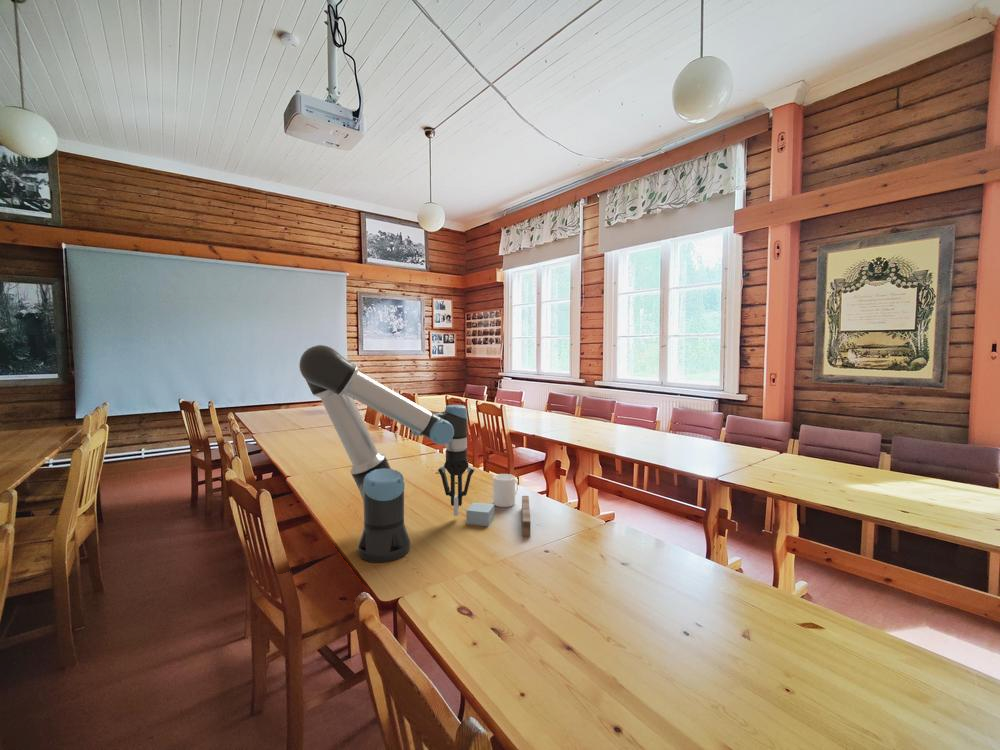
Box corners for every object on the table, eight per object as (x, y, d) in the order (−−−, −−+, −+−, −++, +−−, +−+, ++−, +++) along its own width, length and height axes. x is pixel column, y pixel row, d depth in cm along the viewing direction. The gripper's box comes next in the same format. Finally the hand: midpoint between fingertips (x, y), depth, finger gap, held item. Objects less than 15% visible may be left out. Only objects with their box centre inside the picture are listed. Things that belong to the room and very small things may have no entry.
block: (488, 526, 146) (488, 512, 146) (466, 524, 148) (466, 510, 148) (494, 517, 154) (494, 504, 154) (473, 515, 156) (473, 502, 155)
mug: (525, 501, 170) (525, 475, 169) (503, 509, 161) (503, 481, 161) (510, 496, 176) (510, 470, 175) (488, 503, 168) (488, 476, 167)
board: (530, 536, 138) (530, 521, 138) (522, 536, 138) (522, 520, 138) (528, 508, 162) (528, 495, 162) (521, 508, 162) (521, 495, 162)
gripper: (475, 446, 153) (475, 510, 155) (439, 446, 154) (440, 509, 155) (473, 451, 146) (473, 518, 147) (436, 451, 146) (436, 518, 148)
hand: (456, 514), depth 151 cm, fingers closed
